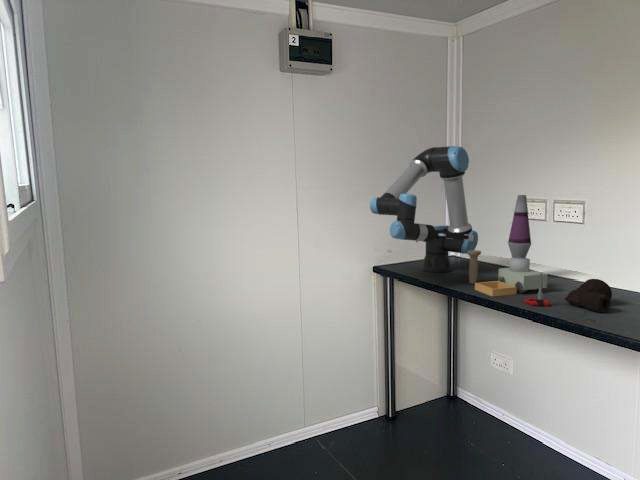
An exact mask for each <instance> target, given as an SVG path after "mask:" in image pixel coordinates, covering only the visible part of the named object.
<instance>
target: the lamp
mask: <svg viewBox="0 0 640 480" xmlns="http://www.w3.org/2000/svg"><path fill="white" fill-rule="evenodd" d="M513 212H514V213H513V217H512V222H511V228H510V231H509V236H508V241H507V245H508V248H509V251H510V253H511V254H510V255H511V258H514V257H520V258H527V256H528V253H529V250H530V248H531V246H532V240H531V231H530V230H531V229H530V221H529V208H528V200H527V195H526V194H517V199H516V203H515V205H514V211H513Z"/></svg>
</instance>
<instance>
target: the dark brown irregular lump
mask: <svg viewBox="0 0 640 480" xmlns="http://www.w3.org/2000/svg"><path fill="white" fill-rule="evenodd" d="M612 297H613V292H612V289H611V286H610V285H609V284H608V283H607V282H606V281H604V280H602V279H597V278H589V279H587V280H586V281H584V282H583V283H581V285H580V286H579V287H577V288H576V289H573V290H572V291H570V292H569V293H568V294H567V296H565V297H564V300H565V301H566V302H567V303H569V304H571V305H573V306H576V307H584V308H585V309H587V310H591V311H592V312H594V311H595V312H596V311H597V312H596V313H604V312H607V311H608V310H609V308H610V306H611V299H612Z"/></svg>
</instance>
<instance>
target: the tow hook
mask: <svg viewBox="0 0 640 480" xmlns="http://www.w3.org/2000/svg"><path fill="white" fill-rule="evenodd" d="M542 273H543V272H542ZM542 273H540V278H539V291H537V297H535V298H534V297H530V298H525V299H524V302H525V304H529V305H530V306H535V307H536V306H537V307H549V306H550V302H549V301H548V300H546V299H543V293H544V292H543V291H542V282H543V278H542Z"/></svg>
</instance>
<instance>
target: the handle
mask: <svg viewBox="0 0 640 480" xmlns="http://www.w3.org/2000/svg"><path fill="white" fill-rule="evenodd" d="M481 254H482V251H481V250H478V249H475V250H471V251H467V254H466V255H467V256H469V267H468V278H469V279H468V280H469V284H472V285H475V283H478V277H479V262H478V261H479V256H480V255H481Z"/></svg>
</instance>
